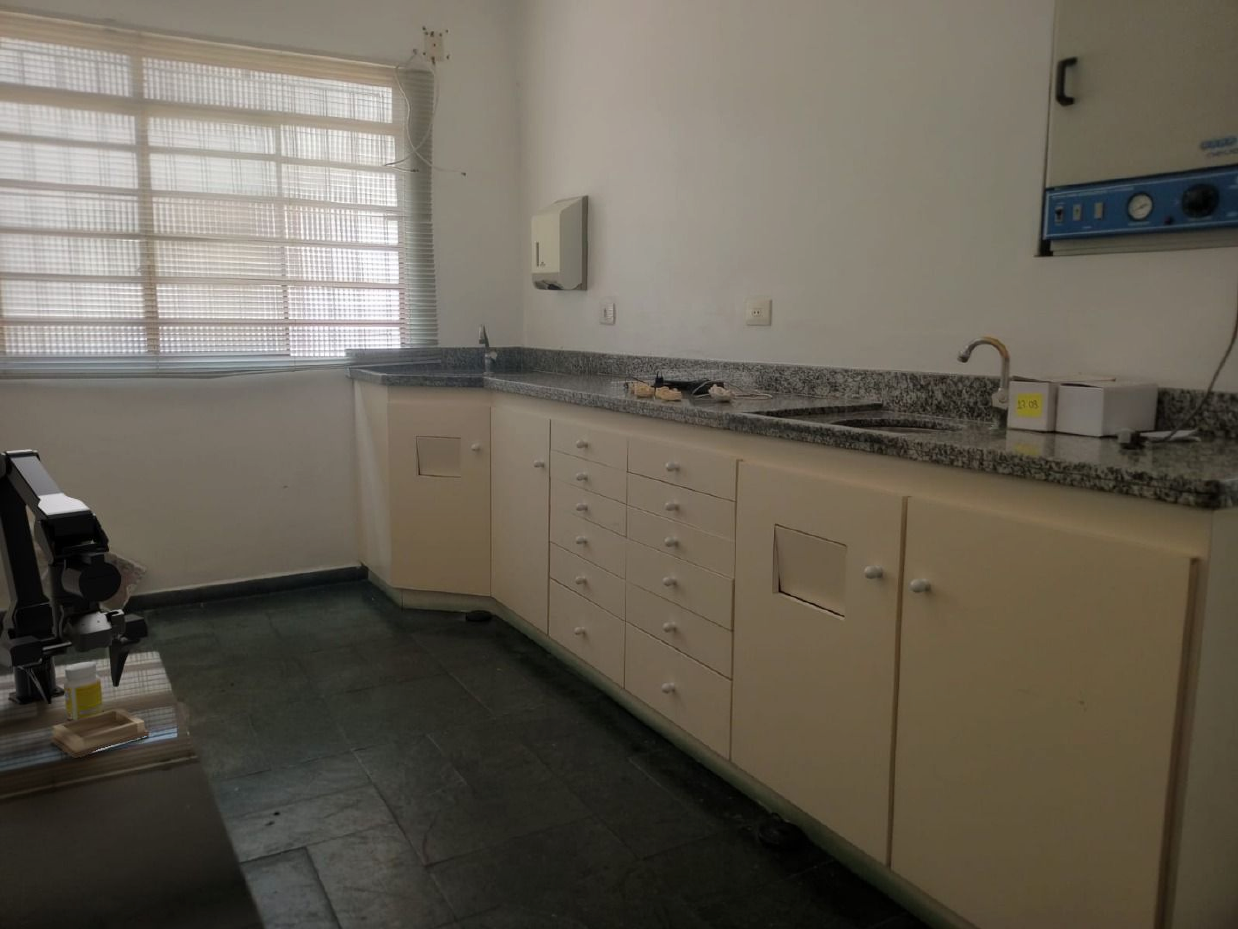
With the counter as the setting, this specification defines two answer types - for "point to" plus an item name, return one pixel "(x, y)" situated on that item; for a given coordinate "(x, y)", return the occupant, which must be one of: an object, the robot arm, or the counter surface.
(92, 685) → the supplement bottle
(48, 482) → the robot arm
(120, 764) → the counter surface
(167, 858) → the counter surface
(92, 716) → the jig cradle
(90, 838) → the counter surface
